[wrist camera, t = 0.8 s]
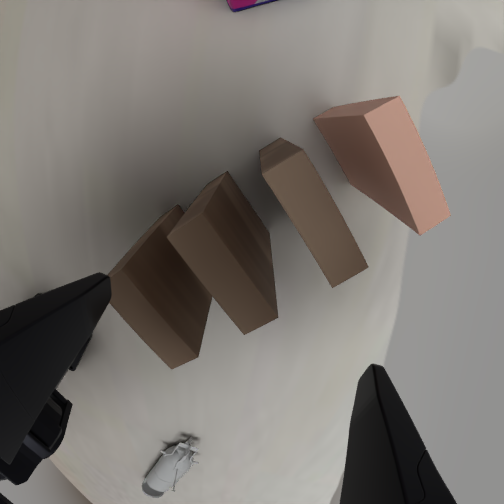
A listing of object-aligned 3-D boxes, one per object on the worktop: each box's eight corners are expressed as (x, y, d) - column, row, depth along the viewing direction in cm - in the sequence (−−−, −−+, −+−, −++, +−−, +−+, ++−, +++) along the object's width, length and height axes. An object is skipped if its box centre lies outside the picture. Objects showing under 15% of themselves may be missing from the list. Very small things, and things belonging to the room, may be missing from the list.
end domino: (350, 184, 20) (420, 235, 11) (312, 118, 19) (363, 114, 9) (370, 172, 20) (450, 215, 11) (333, 107, 18) (399, 95, 9)
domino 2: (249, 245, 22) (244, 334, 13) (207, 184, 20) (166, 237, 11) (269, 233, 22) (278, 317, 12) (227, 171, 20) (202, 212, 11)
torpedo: (168, 486, 37) (162, 520, 31) (138, 476, 37) (130, 510, 31) (212, 437, 31) (207, 486, 25) (172, 424, 30) (161, 473, 24)
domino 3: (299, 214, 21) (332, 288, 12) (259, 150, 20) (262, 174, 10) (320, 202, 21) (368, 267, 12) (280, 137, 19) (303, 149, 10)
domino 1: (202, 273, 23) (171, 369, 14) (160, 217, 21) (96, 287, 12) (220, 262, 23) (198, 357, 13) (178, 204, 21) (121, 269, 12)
